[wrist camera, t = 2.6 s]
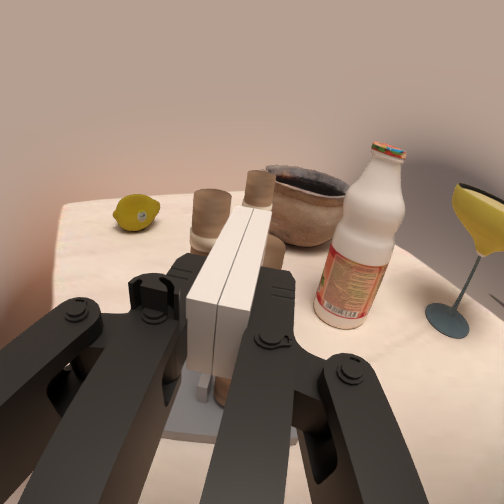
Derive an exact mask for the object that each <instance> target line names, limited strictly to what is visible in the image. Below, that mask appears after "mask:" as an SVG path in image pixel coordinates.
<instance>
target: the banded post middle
mask: <svg viewBox="0 0 504 504" xmlns="http://www.w3.org/2000/svg"><path fill="white" fill-rule="evenodd" d="M231 197H232V196H231V195H230V194H229V193H228V192H225V191H222V190H217V189H201V190H197V191H195V192H194V200H193V215H192V227H191V228H190V245H191V254H196V255H201V256H206V257H208V255H209V253H210V252H211V250H212V248H213V246H214V244H215V242H216V240H217V239H218V237H219V235H220V233H221V231H222V229H223V228H224V226H225V224H226V222H227V220H228V218H229V214H230V205H231Z"/></svg>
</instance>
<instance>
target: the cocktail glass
mask: <svg viewBox="0 0 504 504" xmlns="http://www.w3.org/2000/svg"><path fill="white" fill-rule="evenodd" d="M452 206H453V208H454V210H455V213H456V215H457V216H458V218H459V219H460V221H461V222H462V224H463V225H464V226H465V228H466V229H467V230H468V231H469V233H470V234H471V236H472V237H473V239H474V242H475V247H476V252H477V254H478V258H477V260H476V263H475V265H474V267H473V269H472V271H471V273H470V275H469V277H468V280H467V282H466V284H465V286H464V288H463V289H462V291H461V293H460V295H459V297H458V299H457V300H456V302H455V304H454V305H453V306H452V307H450V306H447V305H445V304H441V303H432V304H429V305H428V306H427V307H426V310H425V313H426V317H427V319H428V321H429V322H430V323H431V325H432V326H433V327H434V328H436V329H437V330H438V331H439V332H441V333H443V334H444V335H446V336H449V337H452V338H464V337H465V336H467V335H468V333H469V325H468V323H467V321H466V319H465V318H464V317H463V316H462V315H461V314H460V313H459V312H458V311H456V310H457V307H458V305H459V303H460V301H461V299H462V297H463V295H464V293H465V290H466V288H467V286H468V284H469V282H470V280H471V278H472V276H473V274H474V272H475V270H476V267H477V265H478V263H479V261H480V258H481V257H485V256H487V255H489V254H491V253H493V252H497V251H504V201H503V200H502V199H500V198H498V197H495V196H494V195H492V194H489V193H487V192H485V191H483V190H480V189H478V188H475V187H473V186H469V185H466V184H462V183H459V184H457V186H456V188H455V190H454V193H453V197H452Z"/></svg>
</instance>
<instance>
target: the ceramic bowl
mask: <svg viewBox="0 0 504 504" xmlns="http://www.w3.org/2000/svg"><path fill="white" fill-rule="evenodd" d="M261 171H265V172H269V173H272V174H274V175H276V181H275V186H274V192H273V198H272V210H271V212H272V215H271V221H270V227H269V231H270V233H271V234H272V235H274V236H275V237H277V238H279V239H280V240H281V241H283V242H285V243H288V244H292V245H296V246H304V247H311V246H316V245H320V244H322V243H324V242H326V241H328V240H330V239H332V238H333V235H334V232H335V229H336V226H337V224H338V223H339V221H340V220H341V219H342V217H343V201H344V197H345V194H346V192H347V190H348V189H349V187H350V185H348V184H347V183H346V182H344V181H342V180H340V179H338V178H334V177H332V176H330V175H328V174H325V173H321V172H318V171H315V170H309V169H303V168H300V167H296V166H279V165H271V166H266V170H264V169H262V170H261Z"/></svg>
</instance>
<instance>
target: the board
mask: <svg viewBox="0 0 504 504" xmlns="http://www.w3.org/2000/svg"><path fill="white" fill-rule="evenodd" d="M181 372H182V379H181V385H180V387H179V390H178V393H177V395H176V398H175V401H174V403H173V406H172V409H171V412H170V414H169V417H168V420H167V422H166V425H165V428H164V431H163V433H162V436H161V438H167V439H175V440H183V441H191V442H201V443H213V444H215V442H216V438H217V434H218V431H219V427H220V423H221V419H222V415H223V411H224V407H225V406H223V405H221V404H220V403H219V402H218V401H217V400H216V399H215V396H214V384H215V376H214V375H212V373H211V375H209V374H205V373H201V372H197V371H193V370H189V369H186V360H185V363H184V365H183V368H182V370H181ZM297 441H298V436H297V431H296V428H295V427H292V426H291V436H290V445H296V443H297Z"/></svg>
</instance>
